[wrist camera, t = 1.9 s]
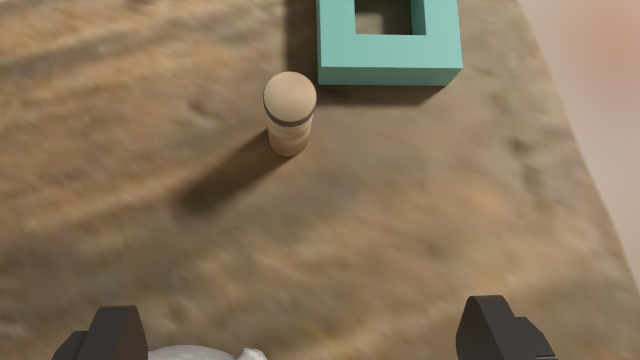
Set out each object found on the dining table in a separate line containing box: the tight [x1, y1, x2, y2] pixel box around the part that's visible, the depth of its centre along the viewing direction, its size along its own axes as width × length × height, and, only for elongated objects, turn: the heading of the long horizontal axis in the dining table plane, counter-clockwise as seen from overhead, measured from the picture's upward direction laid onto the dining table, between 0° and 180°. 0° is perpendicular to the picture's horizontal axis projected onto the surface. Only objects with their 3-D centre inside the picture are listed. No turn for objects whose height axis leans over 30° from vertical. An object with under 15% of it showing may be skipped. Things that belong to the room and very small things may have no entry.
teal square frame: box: [316, 0, 463, 86], centre depth 38 cm, size 11×11×4 cm
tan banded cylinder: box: [263, 72, 317, 156], centre depth 32 cm, size 3×3×9 cm
